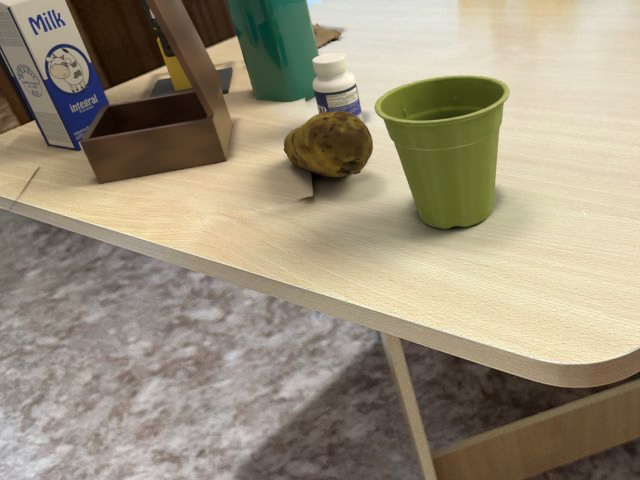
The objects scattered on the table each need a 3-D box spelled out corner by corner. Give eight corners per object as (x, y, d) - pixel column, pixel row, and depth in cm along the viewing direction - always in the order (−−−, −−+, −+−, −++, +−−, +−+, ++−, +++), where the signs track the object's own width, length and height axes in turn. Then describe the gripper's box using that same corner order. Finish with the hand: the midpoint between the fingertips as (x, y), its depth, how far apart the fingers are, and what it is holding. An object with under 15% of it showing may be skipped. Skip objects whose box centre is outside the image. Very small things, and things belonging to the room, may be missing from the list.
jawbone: (352, 34, 125) (350, 22, 124) (295, 73, 111) (293, 60, 109) (308, 30, 127) (306, 18, 126) (247, 68, 113) (244, 55, 112)
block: (175, 91, 106) (156, 39, 101) (178, 82, 109) (160, 32, 105) (204, 86, 106) (187, 34, 101) (207, 77, 110) (190, 27, 105)
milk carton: (92, 131, 97) (20, -29, 84) (124, 135, 94) (54, -29, 81) (48, 151, 92) (-35, -14, 79) (80, 157, 89) (-1, -14, 77)
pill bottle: (321, 127, 88) (304, 55, 83) (361, 119, 89) (346, 47, 84) (327, 142, 84) (309, 67, 79) (368, 133, 85) (354, 58, 80)
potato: (355, 149, 82) (340, 81, 77) (389, 190, 72) (375, 115, 67) (286, 167, 80) (267, 98, 75) (312, 212, 70) (292, 136, 65)
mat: (147, 106, 103) (146, 103, 102) (158, 82, 112) (157, 79, 112) (228, 93, 104) (227, 89, 104) (232, 70, 113) (231, 67, 113)
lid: (128, -31, 68) (179, -50, 68) (147, -50, 78) (192, -67, 77) (207, 116, 78) (252, 100, 77) (216, 83, 87) (256, 68, 87)
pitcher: (332, 87, 101) (293, -89, 87) (296, 108, 95) (248, -77, 82) (280, 83, 105) (235, -86, 91) (243, 103, 99) (189, -74, 86)
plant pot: (532, 189, 69) (526, 74, 62) (493, 249, 61) (482, 124, 54) (425, 181, 73) (408, 72, 66) (374, 237, 65) (349, 119, 58)
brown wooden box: (102, 190, 80) (79, 142, 76) (121, 149, 90) (102, 105, 86) (228, 167, 81) (212, 119, 78) (234, 129, 91) (220, 85, 88)
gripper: (116, -79, 99) (158, 40, 109) (95, -66, 88) (144, 65, 98) (169, -86, 100) (206, 33, 110) (155, -74, 89) (198, 57, 99)
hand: (177, 48), depth 104 cm, fingers open, 8 cm apart
